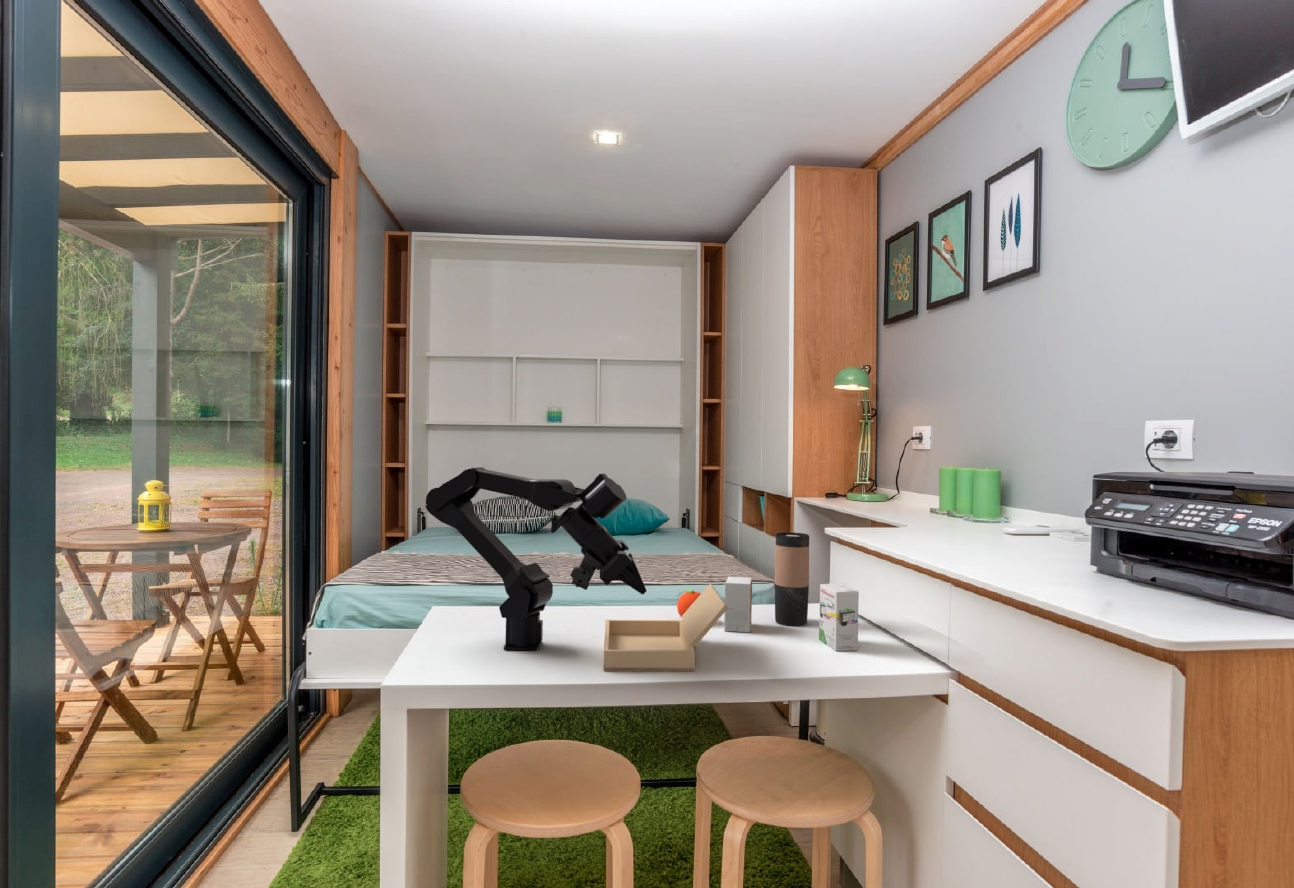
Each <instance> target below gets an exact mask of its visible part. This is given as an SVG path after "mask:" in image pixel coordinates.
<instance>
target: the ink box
mask: <svg viewBox="0 0 1294 888" xmlns="http://www.w3.org/2000/svg"><path fill="white" fill-rule="evenodd" d="M859 592H860V591H858V590H857V589H855V588H853V587H851V586H849V585H847V584H845V583H842V582H835V583H821V584H819V620H818V621H819V623H818V624H819V625H818V626H819V628H818V630H819V631H818V640H819V641H821V642H822V643H824V644H825V645H827V647H829V648H831V649H832V650H833V651H836V652H844V651H845V652H846V651H847V652H849V651H851V652H852V651H858V649H859V594H860V593H859Z"/></svg>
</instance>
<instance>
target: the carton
mask: <svg viewBox="0 0 1294 888" xmlns="http://www.w3.org/2000/svg"><path fill="white" fill-rule="evenodd" d="M603 641H604V642H603V643H604V644H603V668H602V669H603V670H602V671H603V672H695V671H696V670H695V669H696V668H695V667H696V666H695V665H696V651H695V648H694V645H693V644H692V643H691V640H690V638H689V635H688V632H687V630H686V627H685V625H684V622H683V619H682V620H681V619H679V620H677V619H672V620H671V619H605V624H604V640H603Z"/></svg>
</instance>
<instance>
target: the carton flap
mask: <svg viewBox="0 0 1294 888" xmlns="http://www.w3.org/2000/svg"><path fill="white" fill-rule="evenodd" d="M727 609H728V607H727V605H726V604H725V600H724V599H723V598H722V597H721V596H720V594H719V592H718V591H717V590H716V588H715V586H714V585H713V584H711V583H709V584H708V585H707V586H706V588H704V590H703V591H702V592H700V596H699V597H698V598H697V599H696V600H695V601H694V603H693V604H692V605H691V606H690V607H689V608H688V609H687V611H686V612H685V613H684V614H683V615H682V616H680V618H681V617H682V618H681V619H682V620H683V622H684V625H685V627H686V630H687V632H688V635H689V638H690V640H691V643H692V645H693V647H697V645H698V644H699V643H700V641H701V640H702V639H703V638H704V636H706V635H707V633H708V632H709V631H710V630H711V629H712V628H713V627H714V625H715V624H716V623H717V622H718V620H719V619H720V618H721V617H723V615H724V612H725V611H726V610H727Z"/></svg>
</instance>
